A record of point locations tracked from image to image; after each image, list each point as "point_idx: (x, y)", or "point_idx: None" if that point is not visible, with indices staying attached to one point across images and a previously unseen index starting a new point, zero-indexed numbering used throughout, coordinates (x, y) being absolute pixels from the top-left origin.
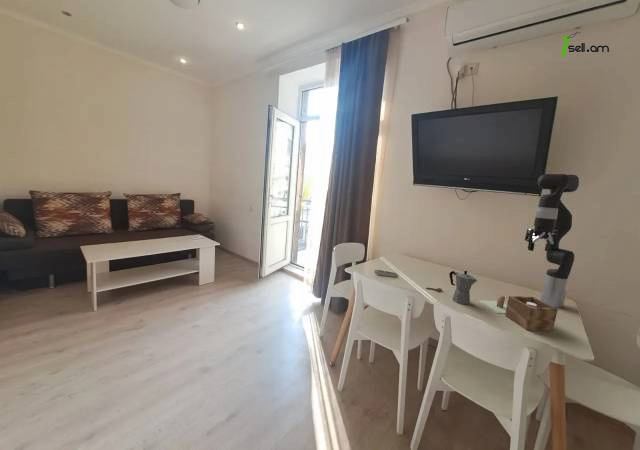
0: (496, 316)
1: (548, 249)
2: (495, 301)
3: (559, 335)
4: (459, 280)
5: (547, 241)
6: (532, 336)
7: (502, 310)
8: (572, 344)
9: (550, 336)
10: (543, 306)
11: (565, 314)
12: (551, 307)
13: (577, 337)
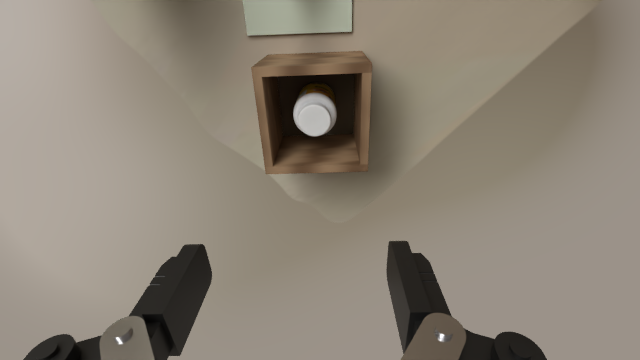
0: (231, 62)
1: (390, 287)
2: None
3: None
4: None
5: (421, 348)
6: None
7: (283, 12)
8: (351, 193)
9: None
10: (359, 123)
11: (557, 6)
12: (360, 156)
13: (404, 163)
